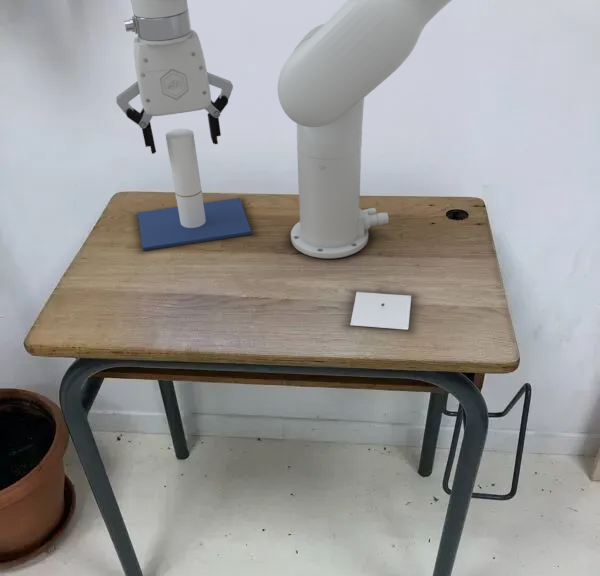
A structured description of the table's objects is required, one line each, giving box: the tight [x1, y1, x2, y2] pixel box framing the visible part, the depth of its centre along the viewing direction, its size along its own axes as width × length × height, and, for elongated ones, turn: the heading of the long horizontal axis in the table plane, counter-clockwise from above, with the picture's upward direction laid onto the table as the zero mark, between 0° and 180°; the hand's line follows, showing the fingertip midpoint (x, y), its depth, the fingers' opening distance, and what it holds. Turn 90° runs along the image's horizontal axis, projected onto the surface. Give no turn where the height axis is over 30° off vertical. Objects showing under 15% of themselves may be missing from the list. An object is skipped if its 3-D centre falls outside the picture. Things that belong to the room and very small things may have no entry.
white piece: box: [350, 291, 412, 331], centre depth 98 cm, size 8×8×1 cm
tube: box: [165, 128, 206, 228], centre depth 112 cm, size 4×4×15 cm
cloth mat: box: [137, 197, 253, 251], centre depth 118 cm, size 18×12×1 cm, turn 103°
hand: (184, 145), depth 108 cm, fingers open, 9 cm apart
